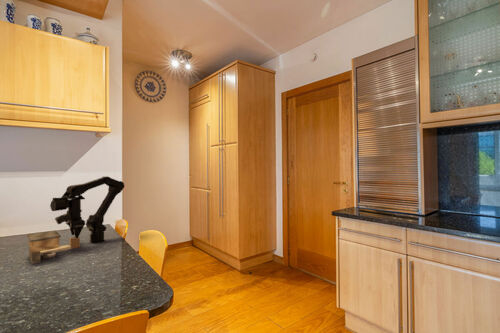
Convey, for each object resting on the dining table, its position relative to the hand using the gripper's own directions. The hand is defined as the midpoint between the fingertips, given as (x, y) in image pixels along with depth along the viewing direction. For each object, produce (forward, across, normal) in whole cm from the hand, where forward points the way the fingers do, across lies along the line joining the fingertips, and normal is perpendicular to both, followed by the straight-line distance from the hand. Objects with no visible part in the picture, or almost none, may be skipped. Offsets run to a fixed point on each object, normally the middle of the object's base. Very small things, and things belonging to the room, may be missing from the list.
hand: (74, 236), depth 138 cm
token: (+6, +9, -12) cm, 16 cm away
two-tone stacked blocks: (+6, 0, -6) cm, 9 cm away
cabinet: (+6, +9, -14) cm, 18 cm away
